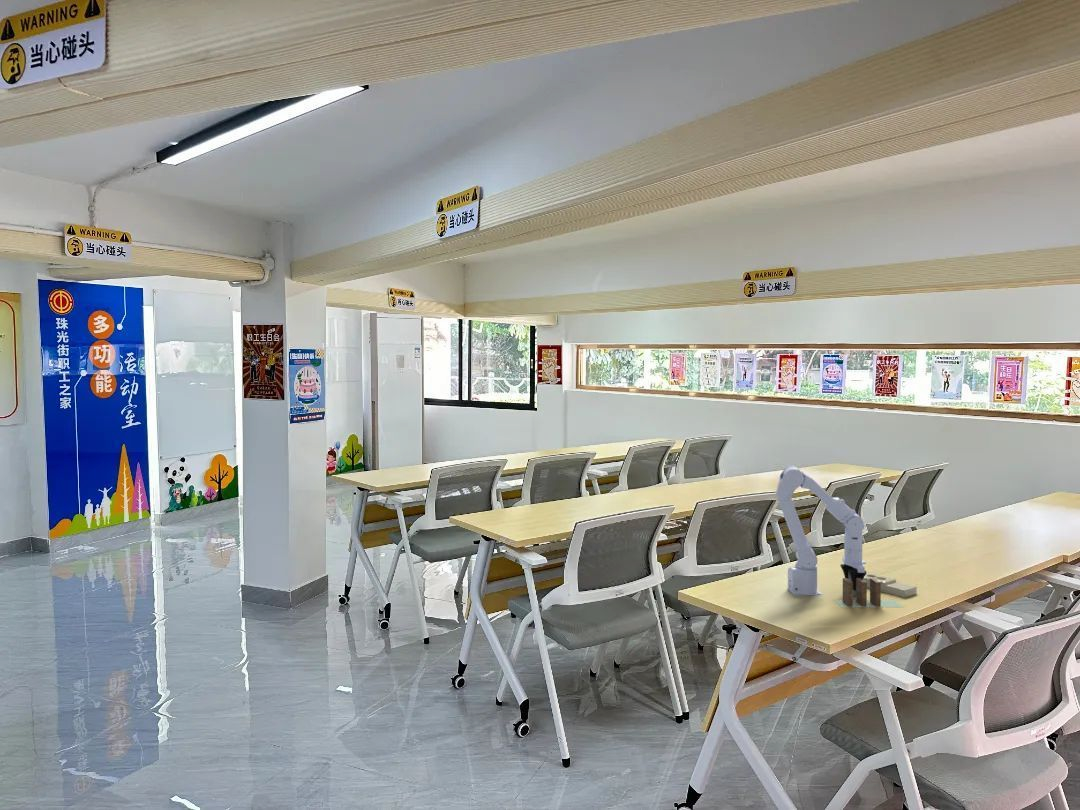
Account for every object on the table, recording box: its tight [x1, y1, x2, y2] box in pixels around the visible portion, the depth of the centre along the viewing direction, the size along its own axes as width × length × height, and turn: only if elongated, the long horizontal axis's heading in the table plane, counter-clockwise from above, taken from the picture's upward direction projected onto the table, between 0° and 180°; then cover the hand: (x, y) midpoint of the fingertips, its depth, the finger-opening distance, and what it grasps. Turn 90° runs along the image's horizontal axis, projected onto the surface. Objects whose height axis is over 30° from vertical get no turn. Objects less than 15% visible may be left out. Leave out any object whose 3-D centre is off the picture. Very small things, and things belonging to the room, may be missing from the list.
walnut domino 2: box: [855, 578, 868, 608], centre depth 241 cm, size 1×5×8 cm, turn 178°
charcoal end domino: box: [848, 572, 856, 597], centre depth 252 cm, size 1×5×8 cm, turn 178°
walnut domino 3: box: [869, 578, 882, 608], centre depth 241 cm, size 1×5×8 cm, turn 178°
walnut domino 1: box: [842, 577, 854, 608], centre depth 241 cm, size 1×5×8 cm, turn 178°
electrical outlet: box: [863, 572, 918, 598], centre depth 257 cm, size 7×4×18 cm
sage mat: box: [833, 599, 904, 608], centre depth 241 cm, size 20×7×1 cm, turn 88°
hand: (853, 587), depth 252 cm, fingers closed on charcoal end domino, 5 cm apart
